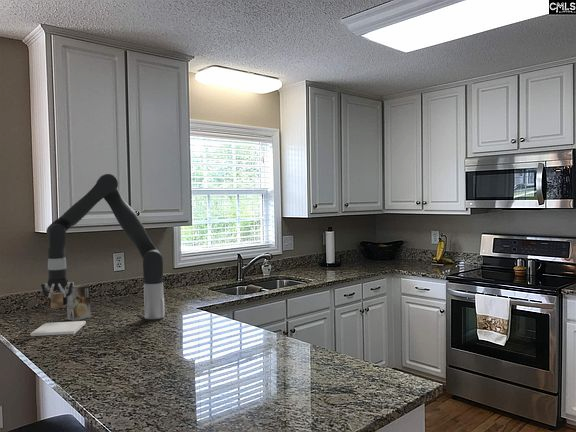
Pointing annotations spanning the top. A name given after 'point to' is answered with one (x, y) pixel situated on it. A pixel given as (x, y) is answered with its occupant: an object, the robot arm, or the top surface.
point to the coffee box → (79, 303)
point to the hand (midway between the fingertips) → (58, 305)
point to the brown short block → (57, 300)
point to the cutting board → (58, 328)
